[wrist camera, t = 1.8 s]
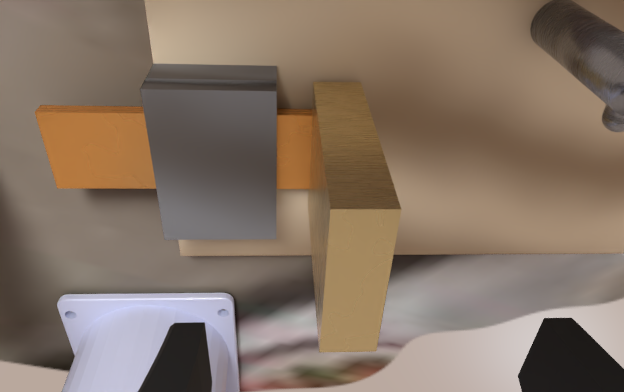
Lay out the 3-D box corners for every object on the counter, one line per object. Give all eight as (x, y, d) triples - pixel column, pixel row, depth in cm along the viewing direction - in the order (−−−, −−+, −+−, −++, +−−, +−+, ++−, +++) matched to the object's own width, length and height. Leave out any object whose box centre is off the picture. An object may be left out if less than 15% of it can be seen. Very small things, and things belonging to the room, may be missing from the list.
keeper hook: (564, 65, 18) (650, 138, 14) (519, 64, 18) (592, 137, 14) (587, -1, 16) (689, 56, 12) (538, -3, 16) (625, 55, 12)
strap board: (624, 238, 24) (663, 286, 22) (184, 240, 23) (173, 290, 20) (751, -10, 18) (828, 17, 15) (148, -29, 16) (125, -3, 14)
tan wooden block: (348, 202, 20) (376, 351, 15) (68, 202, 20) (-17, 358, 14) (361, 82, 17) (401, 209, 12) (32, 76, 17) (-95, 208, 11)
